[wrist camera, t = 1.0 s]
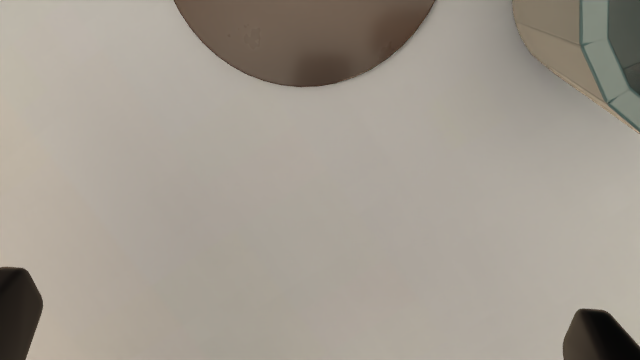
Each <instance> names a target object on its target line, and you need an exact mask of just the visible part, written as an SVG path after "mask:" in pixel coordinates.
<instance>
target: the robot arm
mask: <svg viewBox="0 0 640 360" xmlns="http://www.w3.org/2000/svg"><path fill="white" fill-rule="evenodd" d="M42 308H43V300H42V297H41V295H40V293H39V291H38V289H37V287H36V285H35V283H34V281H33V279H32V277H31V276H30V274H29V272H28V271H27V270H25V269H24V268H16V267H1V268H0V360H25V359H26V357H27V354H28V351H29V348H30V345H31V342H32V339H33V336H34V333H35V330H36V328H37V325H38V322H39V319H40V316H41V313H42ZM563 358H564V360H640V347H639V346H638V344H637V343H636V342H635V341H634V340H633V339H632V338H631V337H630V335H629V334H628V333H627V332H626V331H625V330H624V329H623V328H622V327H621V325H620V324H619V323H618V322H617V321H616V320H615V319H614V318H613V316H612V315H611V314H609V313H608V312H606V311H604V310H597V309H579V310H578V311H577V312H576V313H575V315H574V317H573V320H572V322H571V324H570V326H569V329H568V331H567V333H566V336H565V338H564V342H563Z"/></svg>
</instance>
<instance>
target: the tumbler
mask: <svg viewBox="0 0 640 360" xmlns="http://www.w3.org/2000/svg"><path fill="white" fill-rule="evenodd" d="M512 6H513V15H514V19H515V24H516V27H517V29H518V32H519V35H520V37H521V39H522V40H523V42H524V44H525V46H526V47H527V48H528V50H529V52H530V53H531V54H532V55H533V56H534V57H535V58H536V59H537V60H538V61H540V62H541V63H542V64H543V65H545V66H546V67H547V68H548V69H549V70H551V71H552V72H553V73H554V74H555V75H557V76H558V77H560V78H561V79H562V80H564V81H565V82H567V83H568V84H569V85H571V86H572V87H574V88H575V89H576V90H578V91H579V92H581V93H582V94H584V95H585V96H586V97H588V98H589V99H591V100H592V101H593V102H595V103H596V104H598V105H599V106H600V107H602V108H603V109H605V110H606V111H607V112H609V113H610V114H612V115H613V116H614V117H616V118H617V119H619V120H620V121H622V122H623V123H624V124H626V125H627V126H629V127H630V128H631V129H633V130H634V131H636V132H637V133H638V134H640V0H512Z"/></svg>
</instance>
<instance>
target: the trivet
mask: <svg viewBox="0 0 640 360" xmlns="http://www.w3.org/2000/svg"><path fill="white" fill-rule="evenodd" d="M174 2H175V4H176V6H177V8H178V9H179V11H180V13H181V15H182V16H183V18H184V19H185V21H186V22H187V24H188V25H189V27H190V28H191V29H192V31H193V32H194V33H195V34H196V35H197V36H198V38H199V39H200V40H201V41H202V42H203V43H204V44H205V45H206V46H207V47H208V48H209V49H210V50H211V51H212V52H214V53H215V54H216V55H217V56H218V57H220V58H221V59H222V60H224V61H225V62H227V63H228V64H229V65H231V66H233V67H234V68H236V69H238V70H240V71H242V72H244V73H245V74H247V75H250V76H253V77H255V78H258V79H260V80H263V81H267V82H271V83H275V84H279V85H286V86H296V87H310V86H322V85H328V84H333V83H337V82H341V81H344V80H347V79H350V78H353V77H355V76H358V75H360V74H362V73H364V72H366V71H368V70H370V69H372V68H373V67H375V66H377V65H378V64H380V63H381V62H383V61H384V60H386V59H387V58H388V57H390V56H391V55H392V54H393V53H394V52H396V51H397V50H398V49H399V48H400V47H402V46H403V44H404V43H405V42H406V41H407V40H408V39H409V38H410V37H411V36H412V35H413V34H414V33H415V31H416V30H417V29H418V27H419V26H420V24H421V23H422V22H423V20H424V19H425V17H426V16H427V15H428V13H429V11H430V9H431V7H432V5H433V4H434V2H435V0H174Z"/></svg>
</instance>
